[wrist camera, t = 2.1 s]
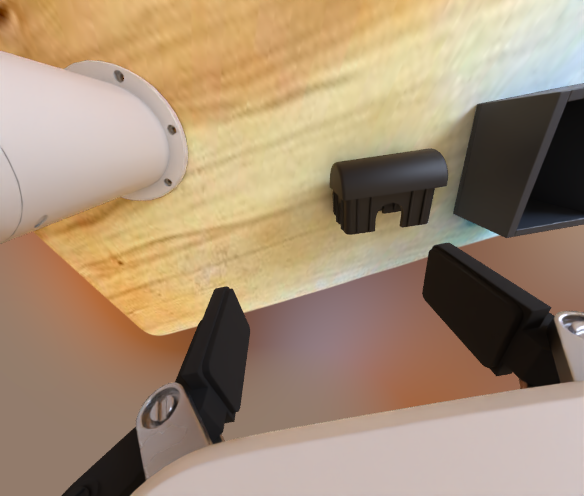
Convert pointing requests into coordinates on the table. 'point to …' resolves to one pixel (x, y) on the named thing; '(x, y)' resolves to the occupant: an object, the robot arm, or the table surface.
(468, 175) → the box
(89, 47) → the table surface
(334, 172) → the end cap
